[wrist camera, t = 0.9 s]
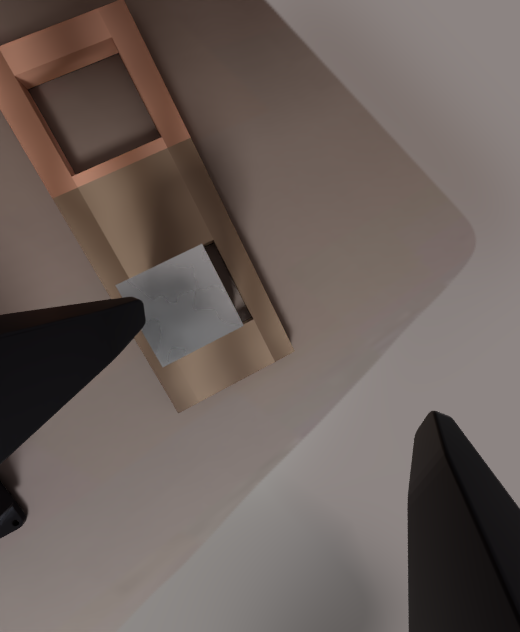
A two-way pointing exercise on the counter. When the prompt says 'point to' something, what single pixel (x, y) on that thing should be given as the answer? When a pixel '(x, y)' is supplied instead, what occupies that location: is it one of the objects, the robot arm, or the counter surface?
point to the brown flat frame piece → (139, 195)
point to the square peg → (182, 305)
